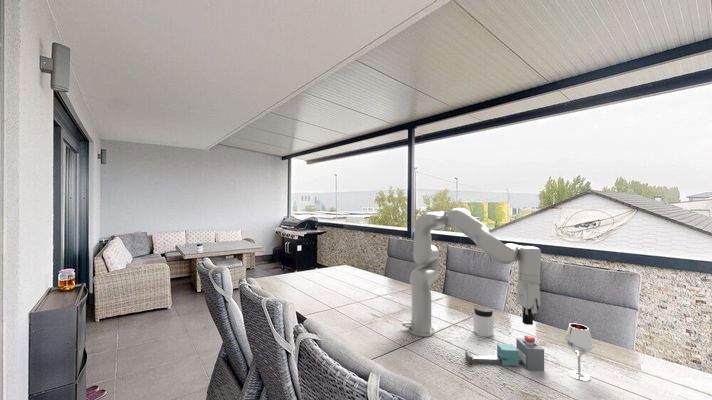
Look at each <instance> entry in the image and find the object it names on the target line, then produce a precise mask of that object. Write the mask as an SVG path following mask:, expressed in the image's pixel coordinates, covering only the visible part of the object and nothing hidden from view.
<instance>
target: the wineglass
mask: <svg viewBox="0 0 712 400" xmlns="http://www.w3.org/2000/svg"><path fill="white" fill-rule="evenodd" d="M564 341H565V343H566V345H567V346H568V347H569V349H571V350H572V352H574V354H576V356H577V370H574V369H573V370H572V369H571V370H569V371H568V375H569V376H571V378H573V379H576V380H579V381H582V382H583V381H584V382H588V381H590V380H591V377H590V375H588V374H587V373H585V372H583V371H581V358H582V356H583V355H586V354H588V353H590V352H591V351H592V350H593V348H594V342H593V339H592V334H591V332H590V329H589V327H588V326H586V325H583V324H580V323H569V324H568V327H567V330H566V333H565V340H564Z"/></svg>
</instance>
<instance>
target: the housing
mask: <svg viewBox="0 0 712 400" xmlns="http://www.w3.org/2000/svg"><path fill="white" fill-rule="evenodd" d="M515 340H516V342H515V343H516V344H515V345H516V346H515V348H516V349H517V350H518V351H519V357H520V358H521V359H522V360H523V362H524V365H523V367H525V369H526V370H527V371H540V372H542V371H543V372H544V371H545V349H544V347H542V346H541V345H539V343H538V342H536V341H535V342H534V346H527V345H526V340H525V339H524V338H523V337H522V338H520V337H516V339H515Z"/></svg>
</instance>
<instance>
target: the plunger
mask: <svg viewBox="0 0 712 400" xmlns="http://www.w3.org/2000/svg"><path fill="white" fill-rule="evenodd" d="M524 339H525V340H526V345H527V346H534V342H536V338H535V337H534V336H531V335H524Z"/></svg>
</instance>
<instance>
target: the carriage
mask: <svg viewBox="0 0 712 400" xmlns="http://www.w3.org/2000/svg"><path fill="white" fill-rule="evenodd" d="M496 347H497V348H496V351H497V352H496V356H499V357H500V358H501V359H502V366H515V367H516V366H520V365H519V351H518V350H517V349H516V346H515V345H514V344H507V343H497V344H496Z"/></svg>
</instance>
